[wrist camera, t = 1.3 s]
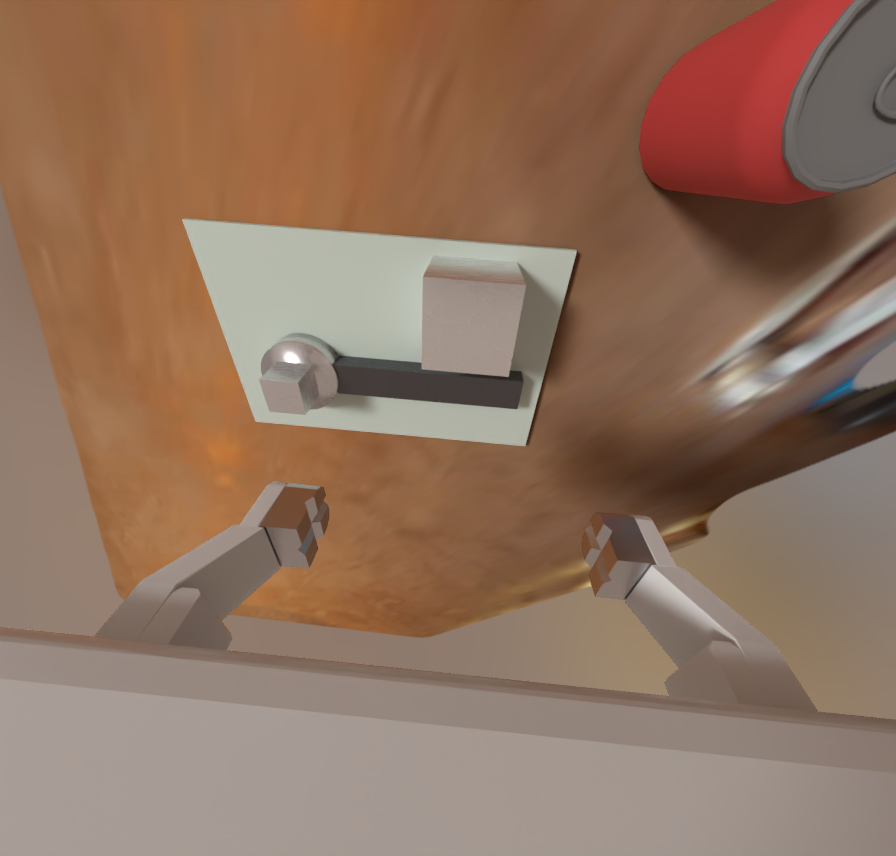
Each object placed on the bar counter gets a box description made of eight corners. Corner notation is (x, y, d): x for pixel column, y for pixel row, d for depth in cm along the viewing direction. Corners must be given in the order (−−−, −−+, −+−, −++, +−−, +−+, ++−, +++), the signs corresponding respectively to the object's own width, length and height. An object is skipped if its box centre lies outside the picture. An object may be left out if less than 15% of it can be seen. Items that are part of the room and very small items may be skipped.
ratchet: (264, 329, 29) (229, 356, 25) (525, 352, 28) (533, 383, 24) (282, 393, 33) (254, 426, 29) (512, 414, 32) (517, 450, 28)
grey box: (433, 255, 24) (422, 276, 20) (516, 262, 24) (526, 285, 19) (431, 335, 28) (421, 369, 23) (503, 341, 28) (508, 376, 23)
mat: (187, 218, 24) (182, 219, 24) (575, 249, 24) (576, 250, 23) (258, 418, 36) (255, 421, 35) (524, 442, 35) (525, 446, 35)
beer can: (705, 205, 22) (878, 234, 12) (612, 172, 21) (721, 176, 12) (794, 62, 18) (1148, -54, 8) (684, 16, 17) (935, -168, 8)
